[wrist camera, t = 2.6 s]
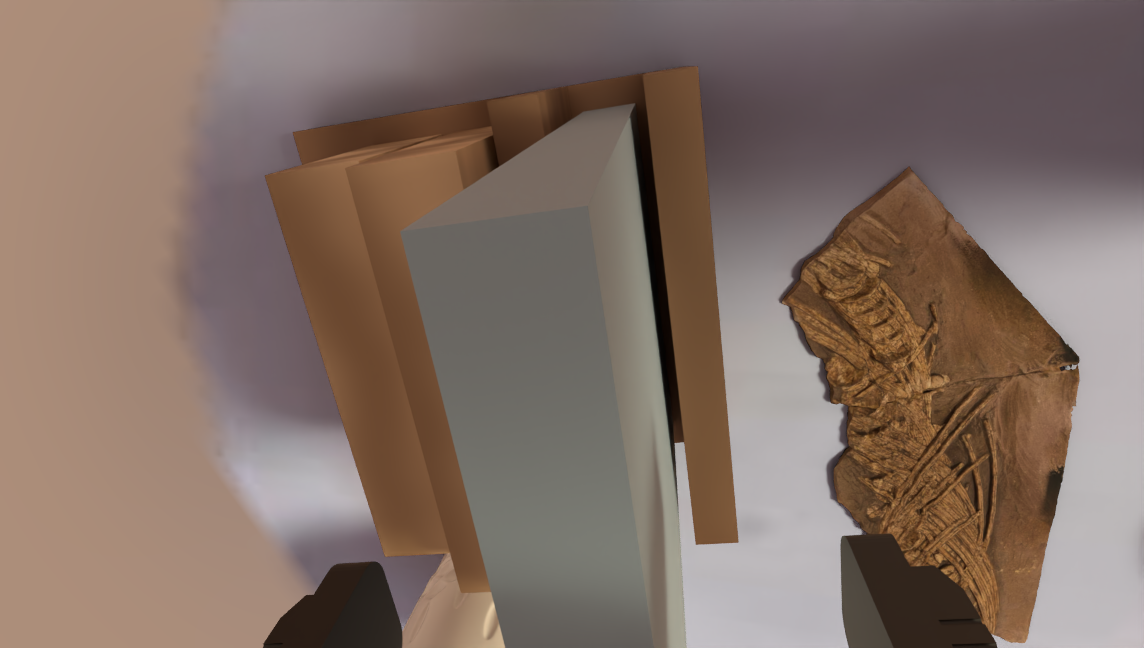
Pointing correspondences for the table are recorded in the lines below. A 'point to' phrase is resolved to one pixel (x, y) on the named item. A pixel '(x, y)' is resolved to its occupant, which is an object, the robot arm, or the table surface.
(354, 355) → the short oak offcut
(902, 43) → the table surface
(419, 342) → the tall oak offcut
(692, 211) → the rack
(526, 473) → the tall board
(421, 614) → the white cup
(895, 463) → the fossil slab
